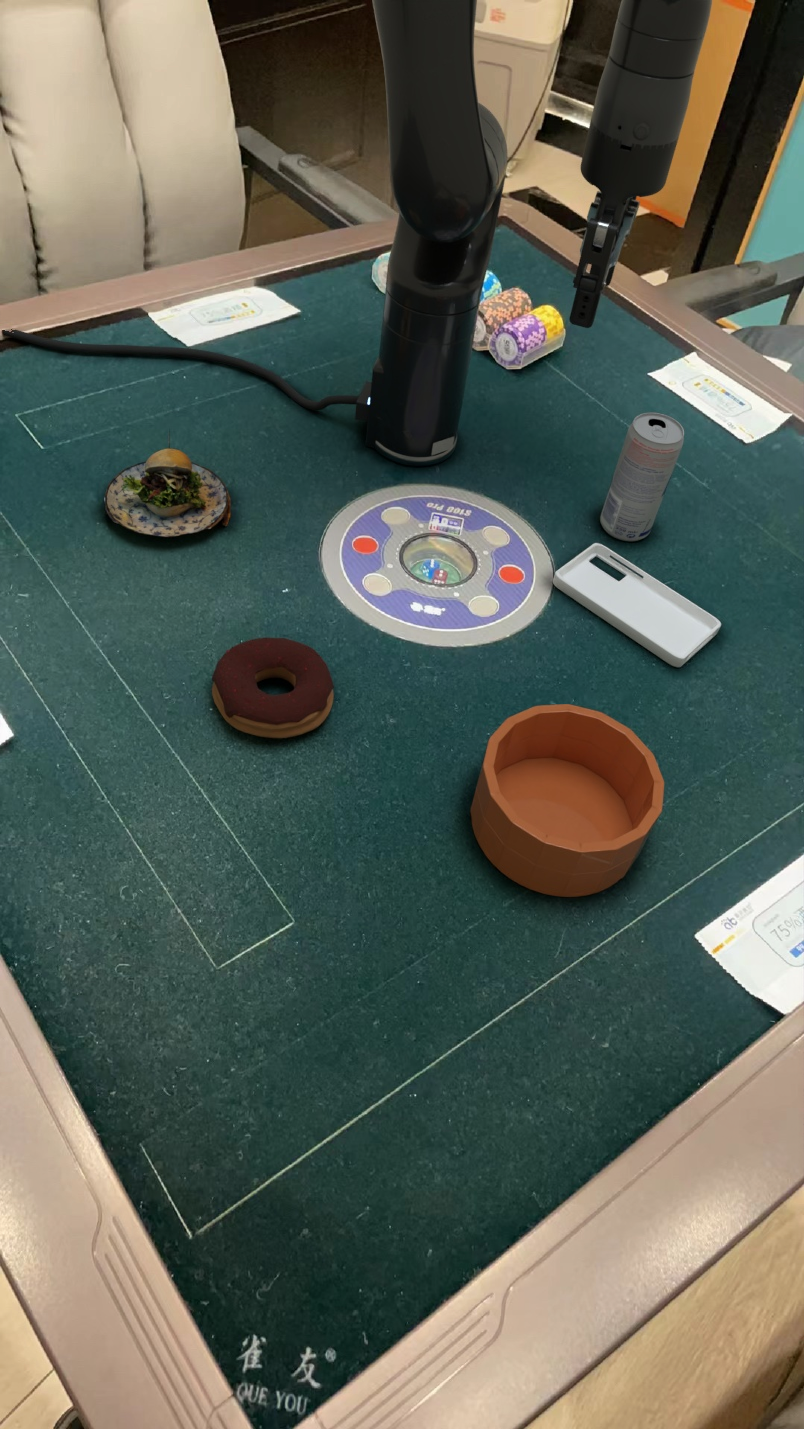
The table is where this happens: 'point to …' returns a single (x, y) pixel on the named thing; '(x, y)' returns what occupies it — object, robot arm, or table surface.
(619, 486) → the energy drink
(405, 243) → the robot arm
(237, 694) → the donut
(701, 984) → the table surface
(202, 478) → the burger
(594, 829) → the bowl
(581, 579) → the phone case
